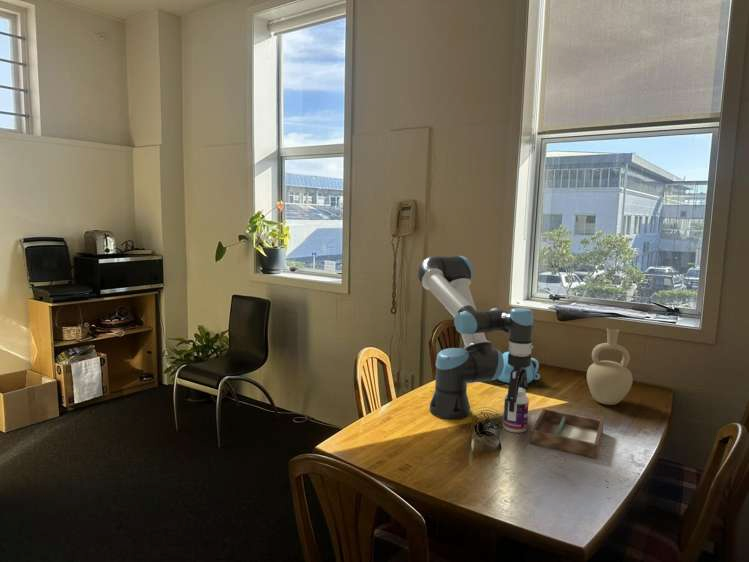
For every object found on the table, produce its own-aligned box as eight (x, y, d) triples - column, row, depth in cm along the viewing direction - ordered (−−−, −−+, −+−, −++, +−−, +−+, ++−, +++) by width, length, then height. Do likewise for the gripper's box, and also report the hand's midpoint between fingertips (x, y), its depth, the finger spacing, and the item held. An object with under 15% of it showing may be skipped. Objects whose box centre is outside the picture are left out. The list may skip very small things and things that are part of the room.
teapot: (523, 372, 241) (525, 343, 239) (544, 385, 222) (546, 355, 220) (485, 373, 237) (487, 345, 235) (503, 387, 219) (505, 356, 217)
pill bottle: (527, 435, 171) (530, 394, 169) (503, 432, 173) (505, 392, 171) (525, 425, 179) (528, 386, 177) (502, 423, 181) (504, 384, 179)
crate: (529, 443, 165) (530, 430, 164) (542, 420, 184) (543, 408, 183) (596, 459, 155) (597, 445, 155) (602, 432, 174) (603, 420, 174)
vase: (588, 407, 198) (594, 332, 194) (581, 393, 214) (587, 323, 210) (635, 412, 194) (642, 336, 190) (624, 397, 210) (631, 326, 206)
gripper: (522, 364, 160) (519, 428, 162) (538, 347, 181) (534, 404, 184) (499, 360, 163) (495, 423, 166) (517, 344, 185) (514, 400, 187)
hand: (516, 413), depth 175 cm, fingers open, 13 cm apart
